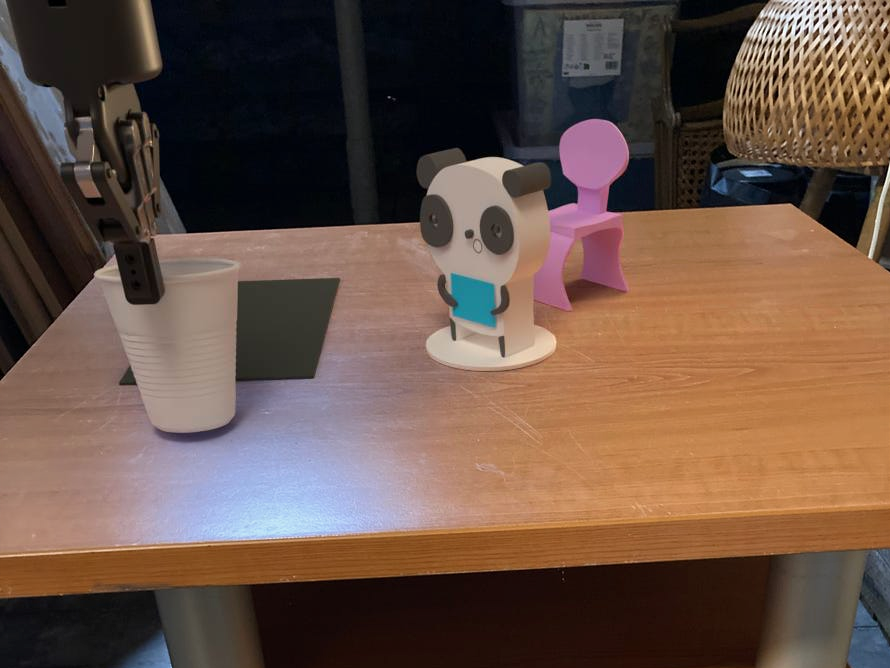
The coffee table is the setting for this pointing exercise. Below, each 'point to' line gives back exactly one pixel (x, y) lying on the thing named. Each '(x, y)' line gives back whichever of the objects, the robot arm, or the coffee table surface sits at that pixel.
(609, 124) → the toy chair
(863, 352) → the coffee table surface
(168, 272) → the cup
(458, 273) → the panda figurine
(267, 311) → the mat
